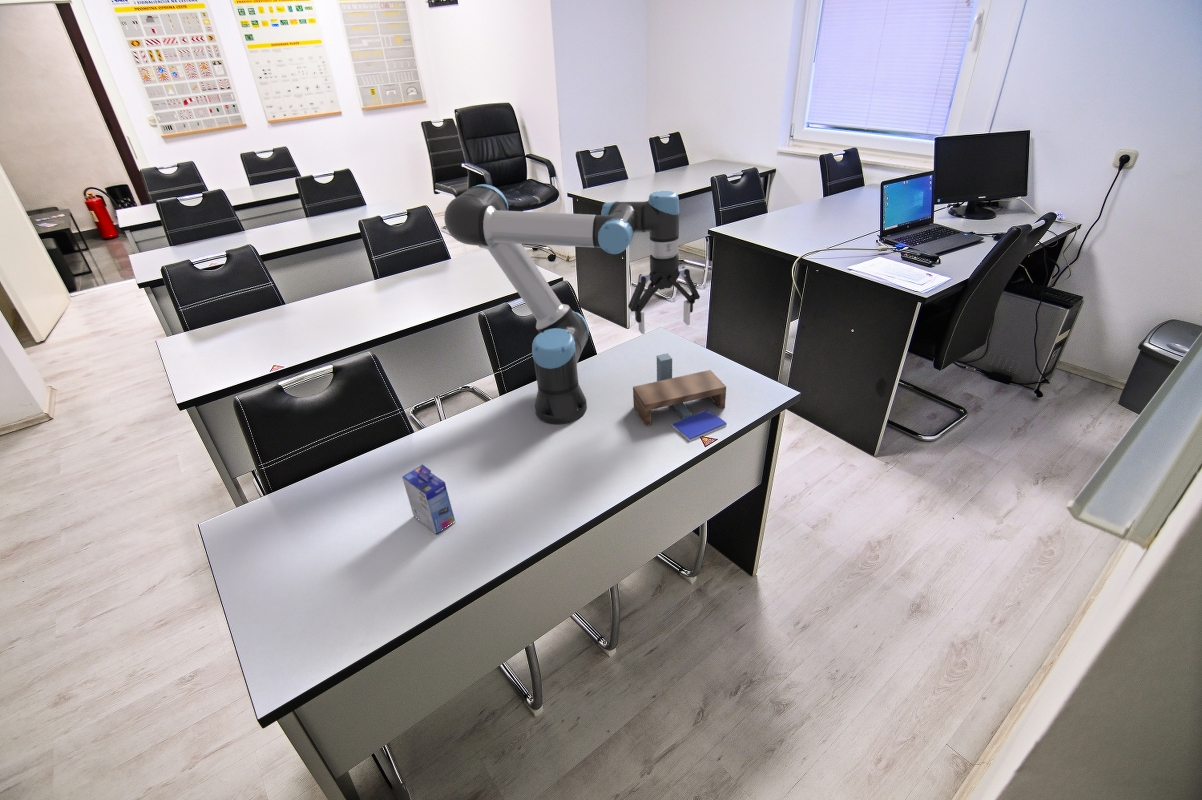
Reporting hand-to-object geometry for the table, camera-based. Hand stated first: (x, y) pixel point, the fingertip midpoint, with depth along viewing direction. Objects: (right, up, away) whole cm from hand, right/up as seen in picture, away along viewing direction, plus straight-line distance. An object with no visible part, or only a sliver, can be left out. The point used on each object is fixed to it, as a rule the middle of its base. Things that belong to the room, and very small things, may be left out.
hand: (664, 327), depth 159 cm
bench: (+4, -23, +3) cm, 23 cm away
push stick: (+4, -21, +5) cm, 22 cm away
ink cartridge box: (-56, -48, -29) cm, 79 cm away
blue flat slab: (+9, -28, -5) cm, 30 cm away
